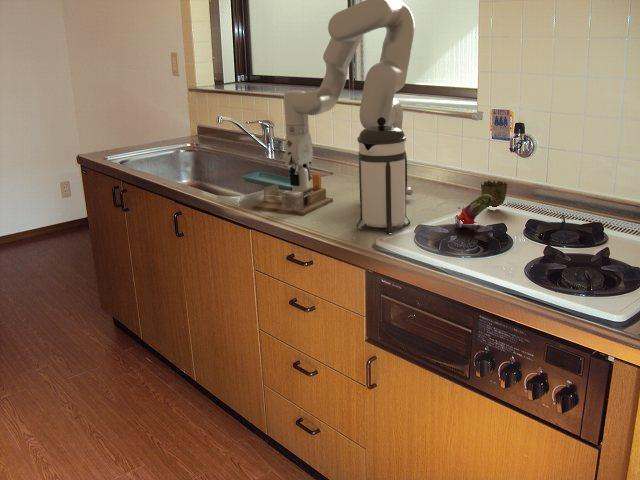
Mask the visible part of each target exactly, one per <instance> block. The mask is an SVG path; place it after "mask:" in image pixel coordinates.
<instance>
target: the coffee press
mask: <svg viewBox="0 0 640 480" xmlns="http://www.w3.org/2000/svg"><path fill="white" fill-rule="evenodd" d="M385 122H386V120H385V118H383V117H380V118H378V120H377V123H378V124H379V125H380V126H373V127H368V128H366V129H365V128H364V129H362V130H361V131H360V133H359V135H358V137H357V143H358V147H359V148H358V153H357V154H358V179H359V180H358V181H359V182H358V184H359V215H360V218H359V221H358V222H357V223H356V226H355V227H356V229H357V230H358V231H362V230H363V229H364V227H366V226H368V227H372V228H384V229H385V232H386V235H387V234H389V233H394V231H393V227H396V226H399V225H401V224H404V225H405V226H410V224H411V221H410V220H409V218H408V217H407V195H406V191H407V188H408V160H407V159H408V157H407V152H406V151H407V150H406V141H407V135H405V132H404V131H403V129H402V130H401V129H400V128H398V127H394V126H384V124H385ZM405 220H407V221H408V222H407V223H405ZM361 223H363V225H361V227H359V226H360V224H361ZM389 235H390V234H389Z"/></svg>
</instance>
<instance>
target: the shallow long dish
mask: <svg viewBox="0 0 640 480" xmlns="http://www.w3.org/2000/svg"><path fill="white" fill-rule="evenodd" d="M241 178H242V179H243V180H244V182H246V183H252V184H256V185H261V186H264V187H269V186H272V185H274V184H278V186H279V190H285V191H293V190H292V185H291V184H290V177H287V176H282V175H280V174H279V175H277V174H273V173H269V172H264V171H256V172H252V173H250V174H249V173H248V174H245V175H242V176H241ZM287 185H289V186H287Z"/></svg>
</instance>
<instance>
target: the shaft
mask: <svg viewBox="0 0 640 480" xmlns="http://www.w3.org/2000/svg"><path fill="white" fill-rule="evenodd" d="M311 175H312V187H313V190H312V191H310V192H307V193H305V194H303V205H306V204H307V195H309V194H311V193H313V192H315V191H318V190H320V189H322V177H321V176H322V174H321V173H312V174H311Z"/></svg>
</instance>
